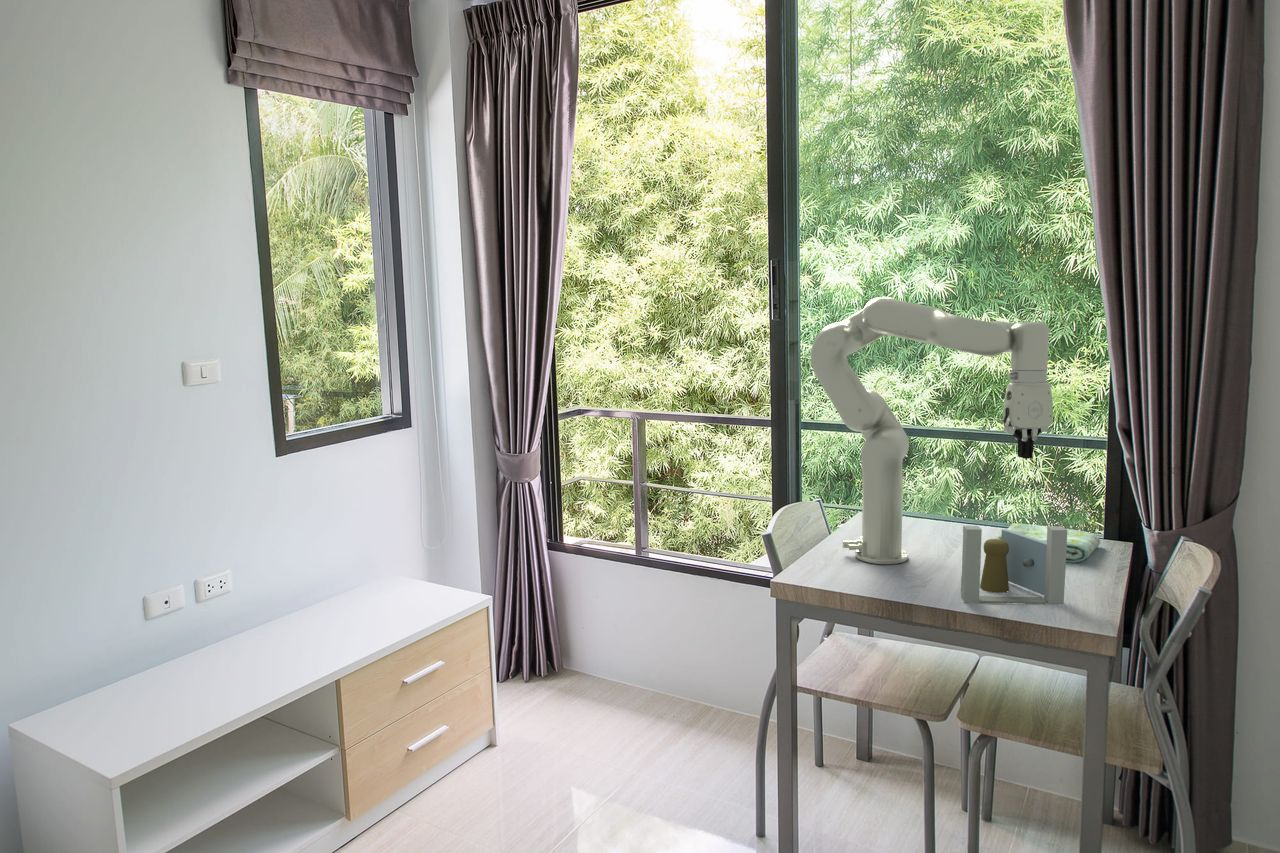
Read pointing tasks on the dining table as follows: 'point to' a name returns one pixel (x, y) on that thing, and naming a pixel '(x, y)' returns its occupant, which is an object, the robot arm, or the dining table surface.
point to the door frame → (1051, 594)
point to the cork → (995, 567)
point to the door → (1025, 560)
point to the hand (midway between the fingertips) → (1025, 457)
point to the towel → (1077, 541)
